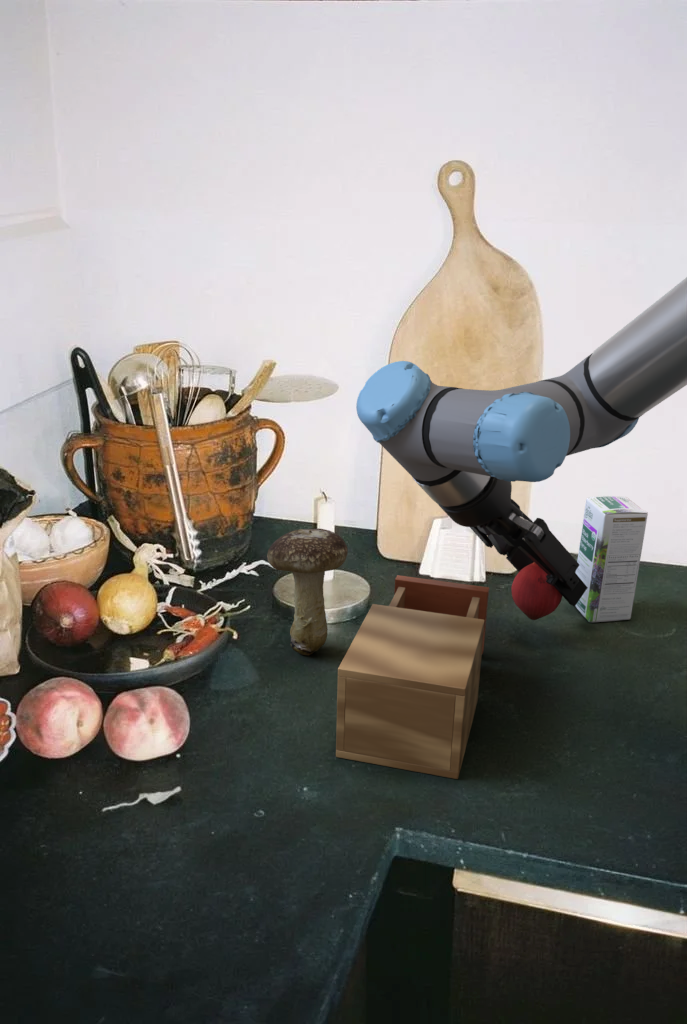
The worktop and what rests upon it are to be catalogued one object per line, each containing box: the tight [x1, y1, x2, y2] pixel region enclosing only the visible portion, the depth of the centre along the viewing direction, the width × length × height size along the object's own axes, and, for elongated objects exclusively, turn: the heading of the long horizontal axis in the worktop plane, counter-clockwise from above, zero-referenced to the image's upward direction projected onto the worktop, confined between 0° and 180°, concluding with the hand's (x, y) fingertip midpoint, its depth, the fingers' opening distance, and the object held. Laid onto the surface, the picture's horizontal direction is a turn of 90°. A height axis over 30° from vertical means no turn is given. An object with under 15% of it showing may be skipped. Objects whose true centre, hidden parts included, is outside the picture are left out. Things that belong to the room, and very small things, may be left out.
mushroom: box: [266, 528, 349, 656], centre depth 103 cm, size 9×9×15 cm
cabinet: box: [335, 603, 485, 780], centre depth 91 cm, size 14×12×10 cm
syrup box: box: [574, 495, 649, 623], centre depth 115 cm, size 6×6×14 cm
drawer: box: [388, 574, 490, 655], centre depth 102 cm, size 17×10×8 cm, turn 165°
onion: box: [510, 562, 563, 621], centre depth 109 cm, size 6×6×8 cm
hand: (558, 585), depth 111 cm, fingers closed on onion, 6 cm apart
